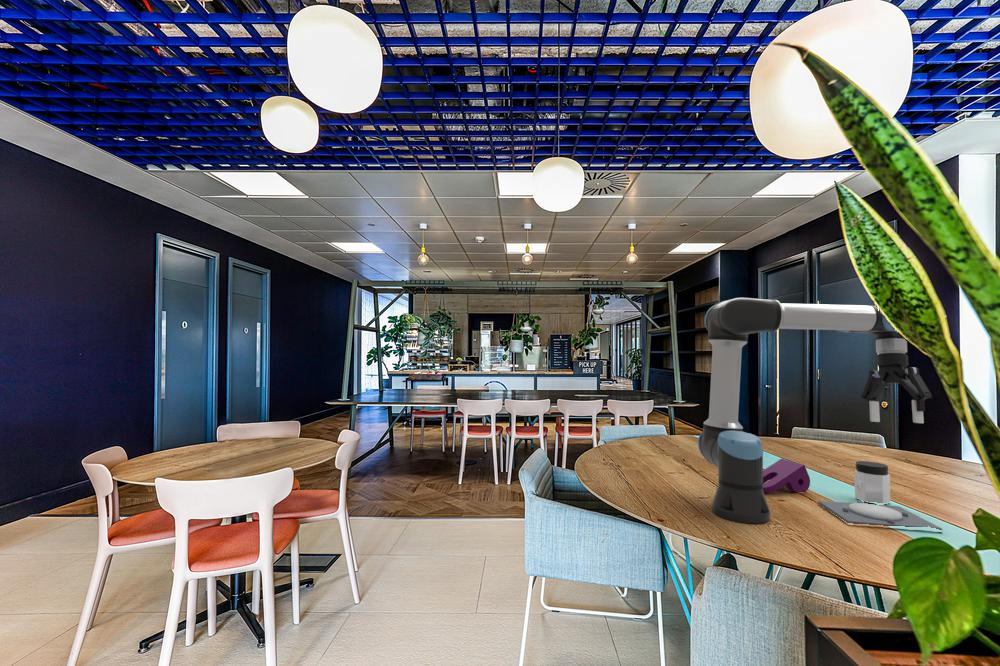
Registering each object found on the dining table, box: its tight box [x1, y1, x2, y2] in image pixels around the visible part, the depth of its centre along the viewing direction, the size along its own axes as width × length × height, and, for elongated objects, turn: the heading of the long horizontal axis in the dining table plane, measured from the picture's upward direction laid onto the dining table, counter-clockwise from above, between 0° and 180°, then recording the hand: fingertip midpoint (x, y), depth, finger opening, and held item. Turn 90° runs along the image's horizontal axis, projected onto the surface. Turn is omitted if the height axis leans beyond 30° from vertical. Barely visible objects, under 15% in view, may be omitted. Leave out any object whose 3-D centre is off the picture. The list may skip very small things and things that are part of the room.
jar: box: [854, 460, 891, 503], centre depth 148 cm, size 9×8×12 cm
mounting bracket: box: [763, 458, 811, 494], centre depth 160 cm, size 9×8×18 cm
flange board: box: [817, 500, 943, 531], centre depth 133 cm, size 22×18×2 cm
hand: (895, 422), depth 140 cm, fingers open, 13 cm apart
